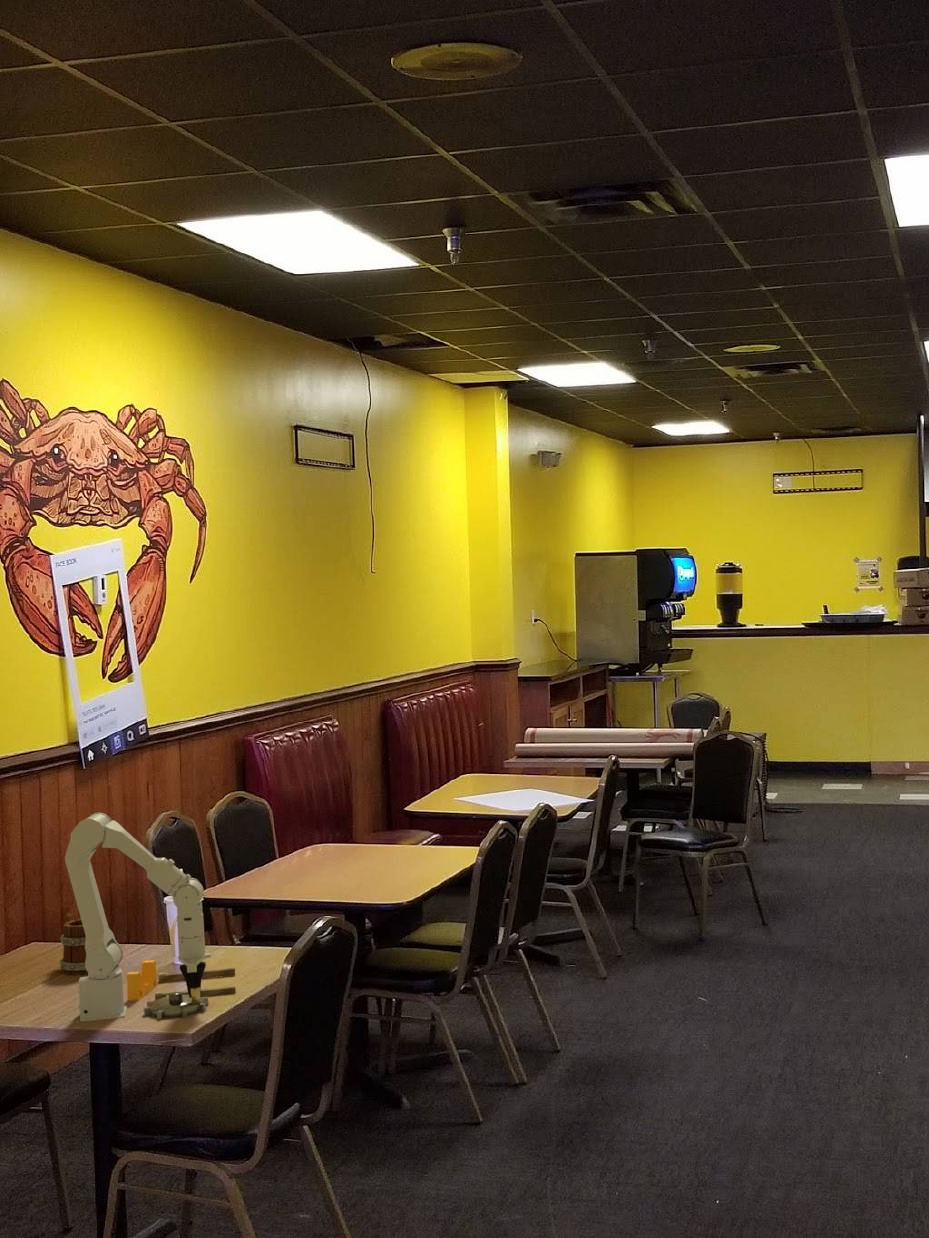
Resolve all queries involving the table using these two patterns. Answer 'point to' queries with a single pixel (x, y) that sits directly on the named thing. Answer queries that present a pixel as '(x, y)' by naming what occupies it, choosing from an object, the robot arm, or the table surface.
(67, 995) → the table surface
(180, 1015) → the sprocket
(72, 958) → the mug
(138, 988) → the pipe clamp
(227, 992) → the guide rails
